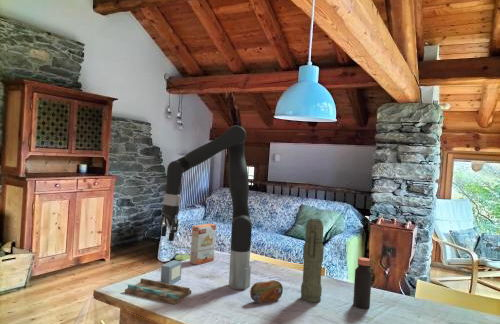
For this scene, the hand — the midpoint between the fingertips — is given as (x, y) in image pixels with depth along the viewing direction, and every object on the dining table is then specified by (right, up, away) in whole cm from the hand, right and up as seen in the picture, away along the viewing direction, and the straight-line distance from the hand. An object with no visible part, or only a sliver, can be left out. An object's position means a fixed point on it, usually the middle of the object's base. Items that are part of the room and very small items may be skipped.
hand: (167, 238), depth 166 cm
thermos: (+65, -25, -8) cm, 70 cm away
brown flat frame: (-1, -21, -11) cm, 24 cm away
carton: (+1, -21, +4) cm, 22 cm away
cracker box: (+11, -22, +38) cm, 45 cm away
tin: (+45, -24, -13) cm, 53 cm away
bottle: (+86, -26, -12) cm, 91 cm away
